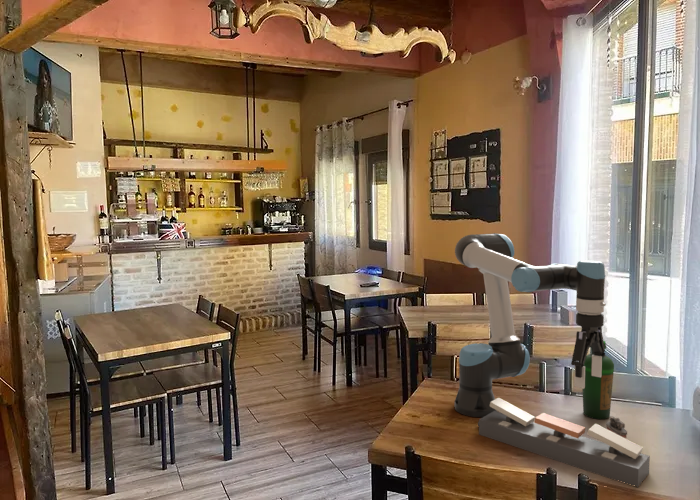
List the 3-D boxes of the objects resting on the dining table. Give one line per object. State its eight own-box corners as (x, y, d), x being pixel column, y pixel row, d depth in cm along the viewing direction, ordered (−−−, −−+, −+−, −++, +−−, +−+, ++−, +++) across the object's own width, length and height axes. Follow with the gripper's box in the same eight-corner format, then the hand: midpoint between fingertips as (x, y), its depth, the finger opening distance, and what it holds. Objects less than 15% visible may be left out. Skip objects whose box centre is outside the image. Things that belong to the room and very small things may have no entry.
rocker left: (489, 406, 169) (490, 401, 168) (497, 401, 173) (498, 397, 172) (525, 426, 160) (527, 421, 160) (533, 421, 164) (534, 416, 164)
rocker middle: (534, 422, 158) (535, 417, 158) (542, 417, 162) (542, 412, 162) (577, 438, 149) (578, 433, 149) (584, 432, 153) (585, 427, 153)
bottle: (617, 422, 175) (619, 341, 173) (583, 420, 178) (585, 340, 175) (608, 410, 186) (610, 334, 184) (576, 408, 188) (578, 333, 186)
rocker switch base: (470, 431, 170) (470, 412, 169) (486, 422, 177) (486, 403, 176) (637, 487, 135) (638, 462, 134) (649, 473, 142) (649, 449, 141)
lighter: (602, 445, 159) (603, 413, 158) (613, 444, 159) (614, 413, 158) (618, 457, 151) (619, 424, 150) (629, 457, 151) (630, 424, 150)
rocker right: (587, 434, 147) (588, 429, 147) (594, 428, 151) (595, 423, 150) (635, 459, 138) (637, 454, 138) (641, 452, 142) (643, 447, 142)
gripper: (587, 321, 142) (585, 395, 144) (617, 307, 160) (615, 374, 162) (560, 317, 148) (558, 389, 149) (592, 305, 165) (590, 369, 167)
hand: (588, 381), depth 156 cm, fingers open, 13 cm apart
